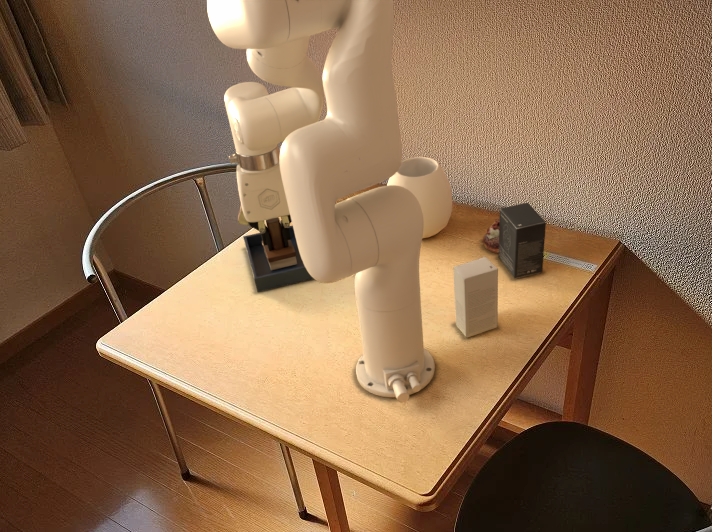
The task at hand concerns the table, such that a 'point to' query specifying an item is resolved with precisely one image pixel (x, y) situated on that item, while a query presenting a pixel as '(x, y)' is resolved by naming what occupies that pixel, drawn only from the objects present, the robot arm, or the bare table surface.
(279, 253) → the peg on plate
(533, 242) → the box
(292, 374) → the table surface
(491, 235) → the pastry
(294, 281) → the tray
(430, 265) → the table surface
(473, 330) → the cosmetic box
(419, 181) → the white vase
